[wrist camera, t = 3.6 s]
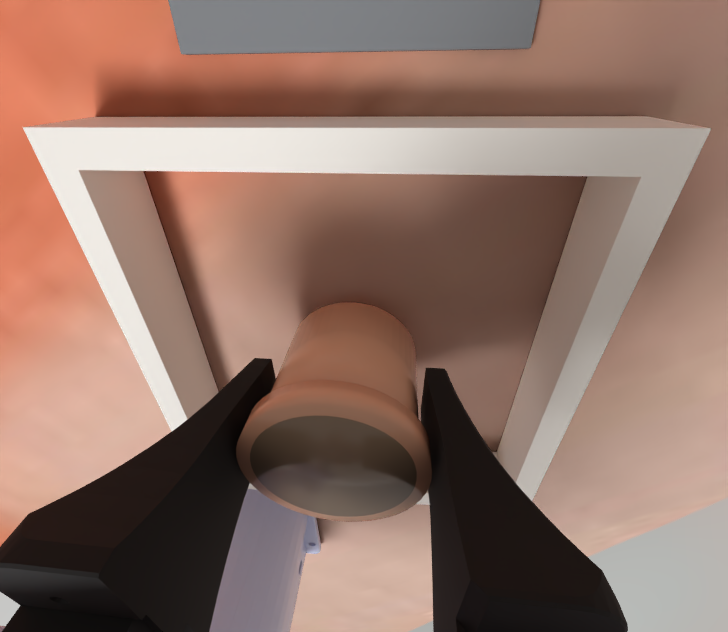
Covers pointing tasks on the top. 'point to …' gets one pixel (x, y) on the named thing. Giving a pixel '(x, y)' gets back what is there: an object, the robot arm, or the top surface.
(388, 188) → the top surface
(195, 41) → the slate mat
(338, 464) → the terracotta pot
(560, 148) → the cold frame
